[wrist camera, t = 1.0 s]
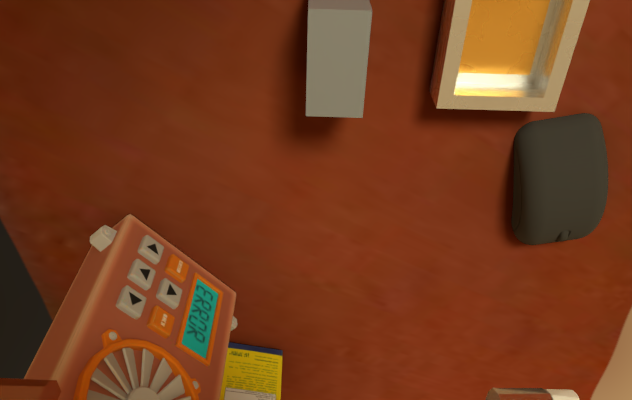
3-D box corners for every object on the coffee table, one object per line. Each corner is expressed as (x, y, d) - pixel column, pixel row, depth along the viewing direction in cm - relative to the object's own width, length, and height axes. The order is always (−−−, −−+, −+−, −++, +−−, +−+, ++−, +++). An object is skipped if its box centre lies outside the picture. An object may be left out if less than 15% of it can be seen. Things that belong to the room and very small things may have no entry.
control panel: (122, 197, 44) (252, 296, 51) (72, 240, 47) (202, 329, 54) (-2, 449, 27) (220, 549, 34) (-70, 495, 30) (148, 579, 36)
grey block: (309, -20, 34) (307, 8, 30) (364, -18, 34) (372, 10, 30) (306, 76, 38) (305, 116, 33) (356, 78, 38) (362, 117, 33)
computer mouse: (509, 236, 47) (524, 268, 44) (512, 122, 41) (529, 149, 37) (585, 226, 46) (605, 257, 43) (600, 108, 40) (625, 134, 37)
